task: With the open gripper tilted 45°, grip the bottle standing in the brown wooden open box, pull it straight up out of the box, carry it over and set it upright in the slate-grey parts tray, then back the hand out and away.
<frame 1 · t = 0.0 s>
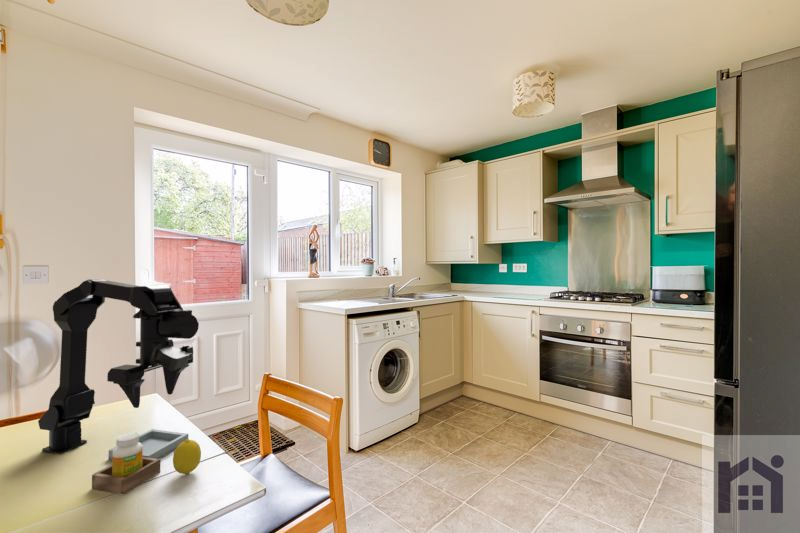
hand: (154, 400, 88), 15 cm above the table, tool pointing down, fingers open, 9 cm apart
brown wooden open box: (127, 480, 80), on the table
supplement bottle: (127, 481, 80), resting in brown wooden open box
lemon: (187, 475, 82), on the table
parts tray: (150, 450, 93), on the table
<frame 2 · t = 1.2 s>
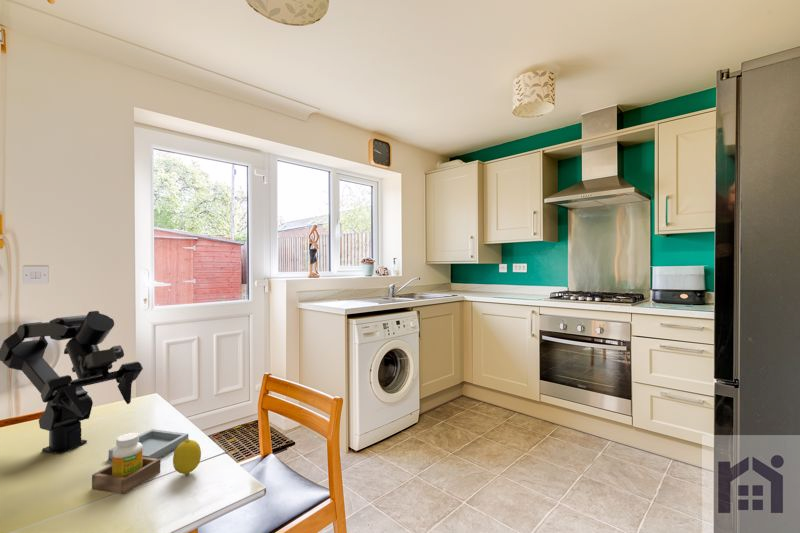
hand: (107, 409, 86), 13 cm above the table, tool tilted 45°, fingers open, 9 cm apart
nothing on the table moved.
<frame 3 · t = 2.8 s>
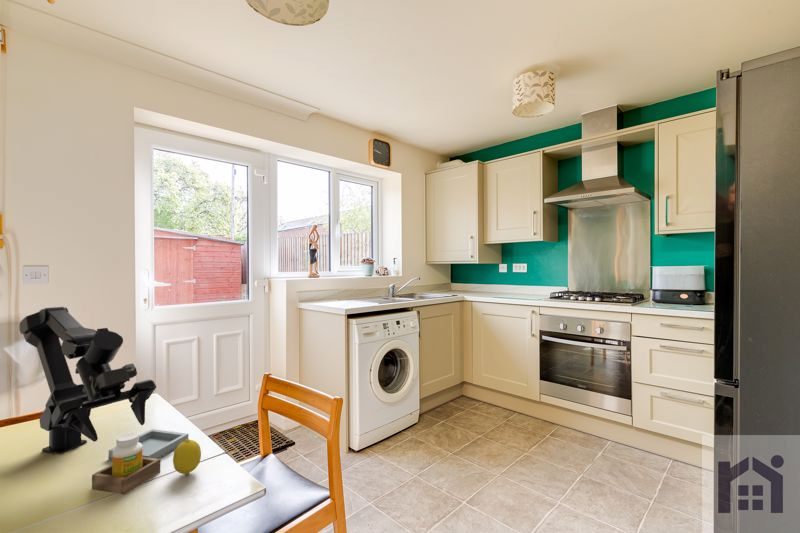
hand: (120, 431, 82), 10 cm above the table, tool tilted 45°, fingers open, 9 cm apart
nothing on the table moved.
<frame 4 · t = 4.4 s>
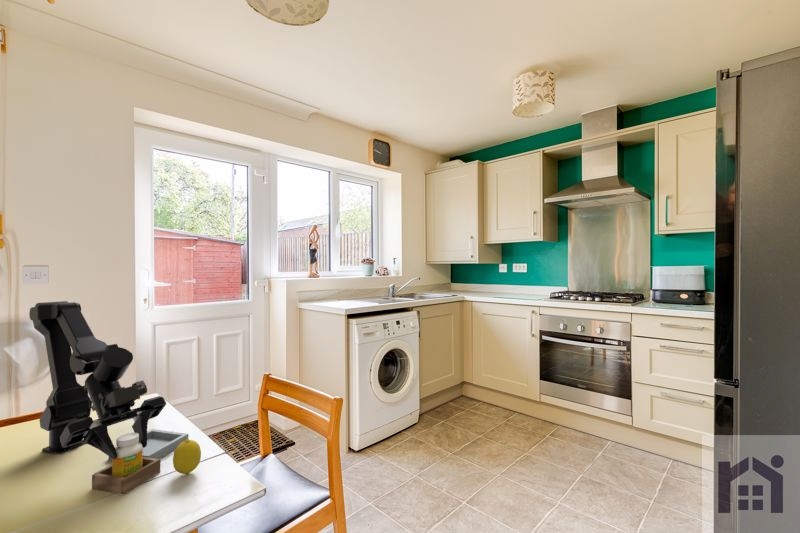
hand: (131, 452, 79), 7 cm above the table, tool tilted 45°, fingers closed on supplement bottle, 5 cm apart
supplement bottle: (127, 481, 80), resting in brown wooden open box, touching gripper
everything else where it was.
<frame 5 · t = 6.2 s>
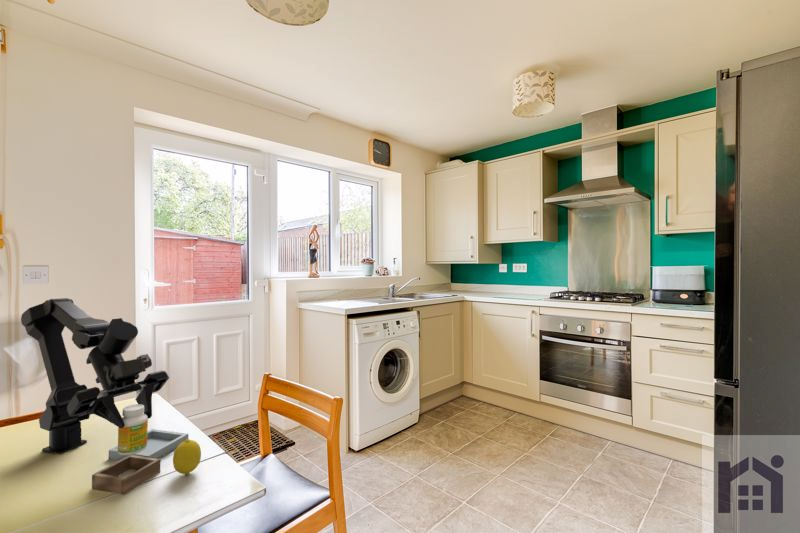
hand: (136, 422, 82), 12 cm above the table, tool tilted 45°, fingers closed on supplement bottle, 5 cm apart
supplement bottle: (132, 450, 82), point 5 cm above the table, touching gripper
everything else where it was.
when the fingers open (9 cm above the table, at t = 8.3 s): supplement bottle drops 1 cm, resting on parts tray.
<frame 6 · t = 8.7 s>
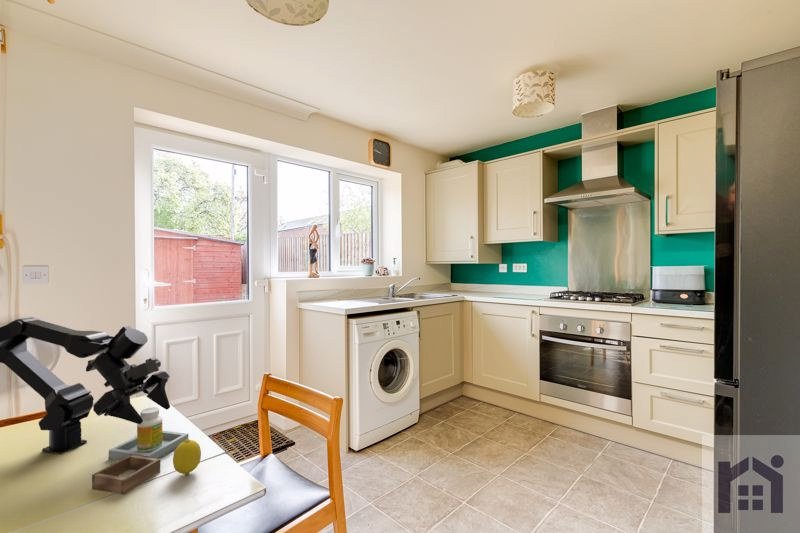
hand: (155, 415, 93), 9 cm above the table, tool tilted 45°, fingers open, 9 cm apart
supplement bottle: (149, 448, 93), resting on parts tray
everything else where it was.
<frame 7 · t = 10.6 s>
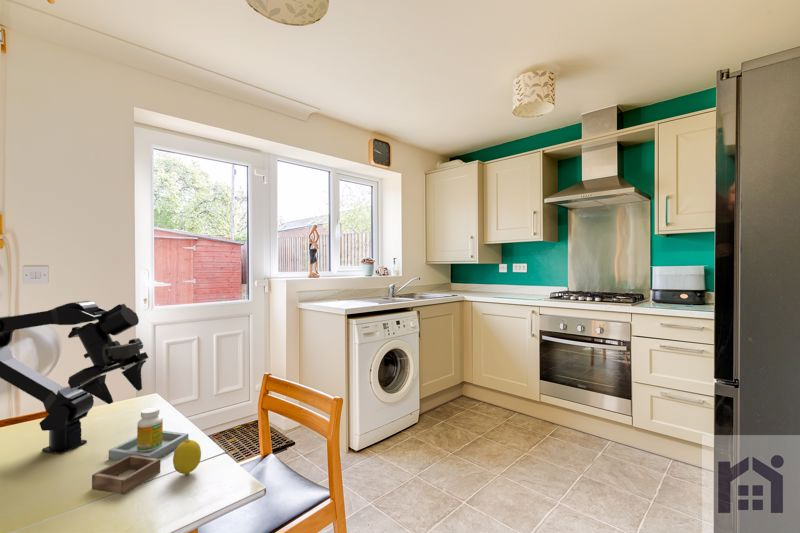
hand: (126, 396, 95), 13 cm above the table, tool tilted 30°, fingers open, 9 cm apart
nothing on the table moved.
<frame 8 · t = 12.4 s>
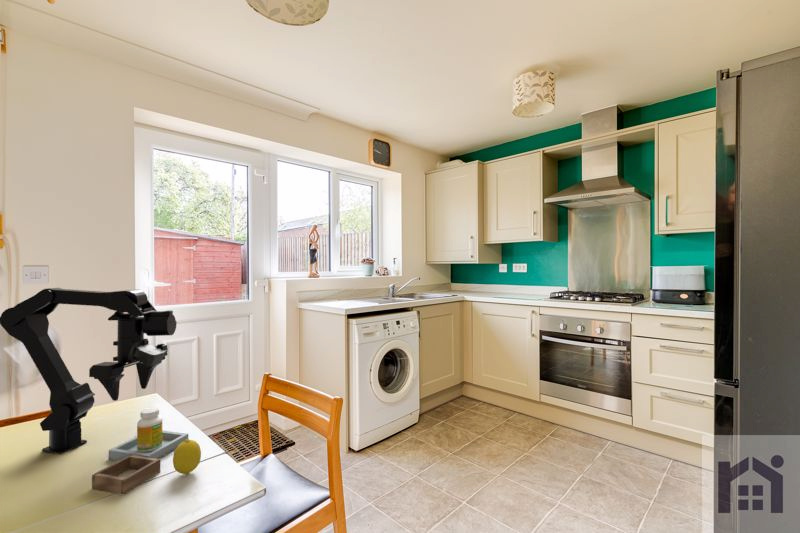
hand: (130, 394, 97), 13 cm above the table, tool pointing down, fingers open, 9 cm apart
nothing on the table moved.
at the end: supplement bottle inside the target area on the parts tray (0.2 cm from its centre), point 0.4 cm above the parts tray's base; supplement bottle tilted 0°; the gripper is holding nothing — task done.
